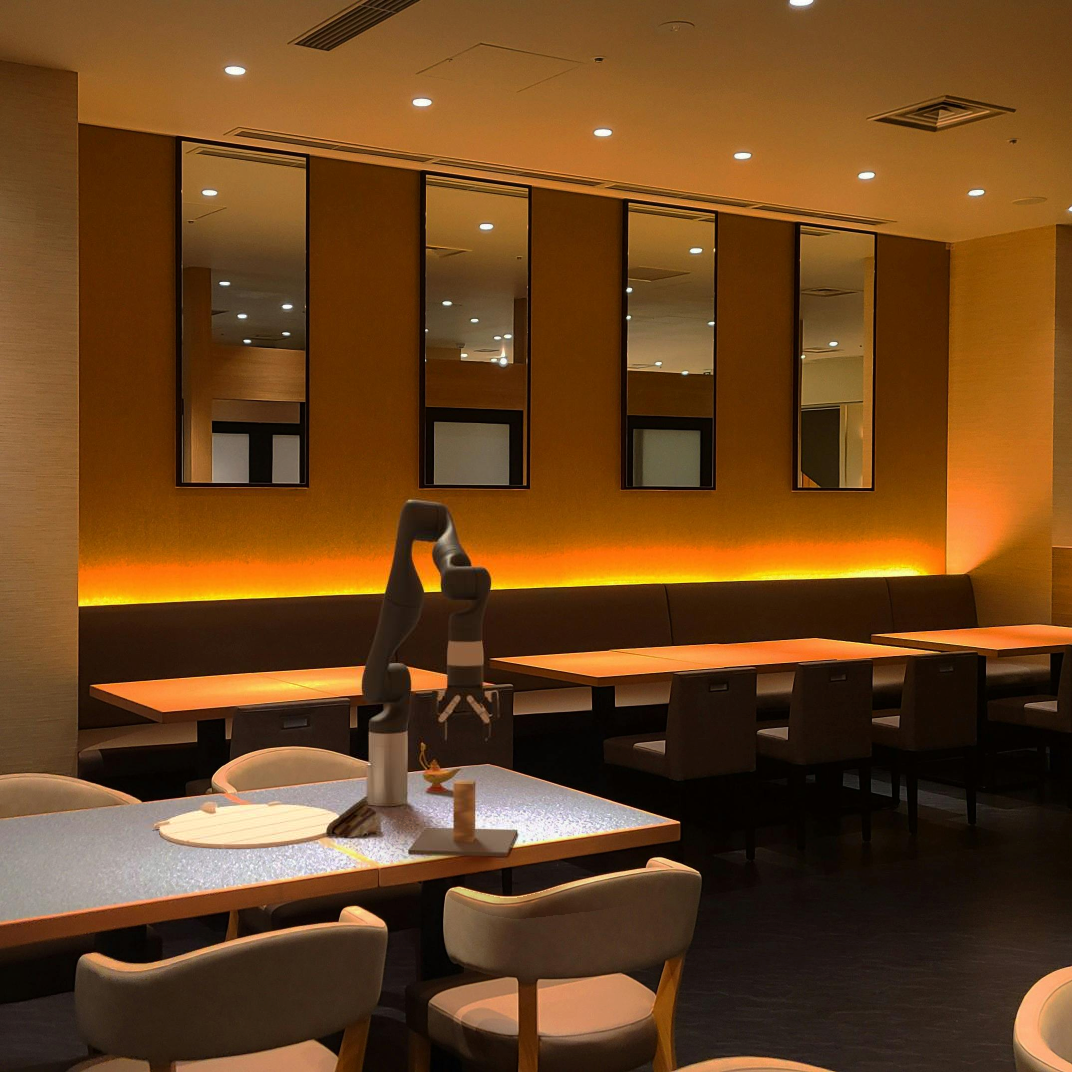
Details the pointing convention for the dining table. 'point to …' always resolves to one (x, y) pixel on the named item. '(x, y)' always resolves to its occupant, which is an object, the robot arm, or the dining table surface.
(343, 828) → the chocolate cake
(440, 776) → the magic lamp
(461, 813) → the oak pillar
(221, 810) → the lazy susan
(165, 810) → the dining table surface
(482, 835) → the charcoal mat
